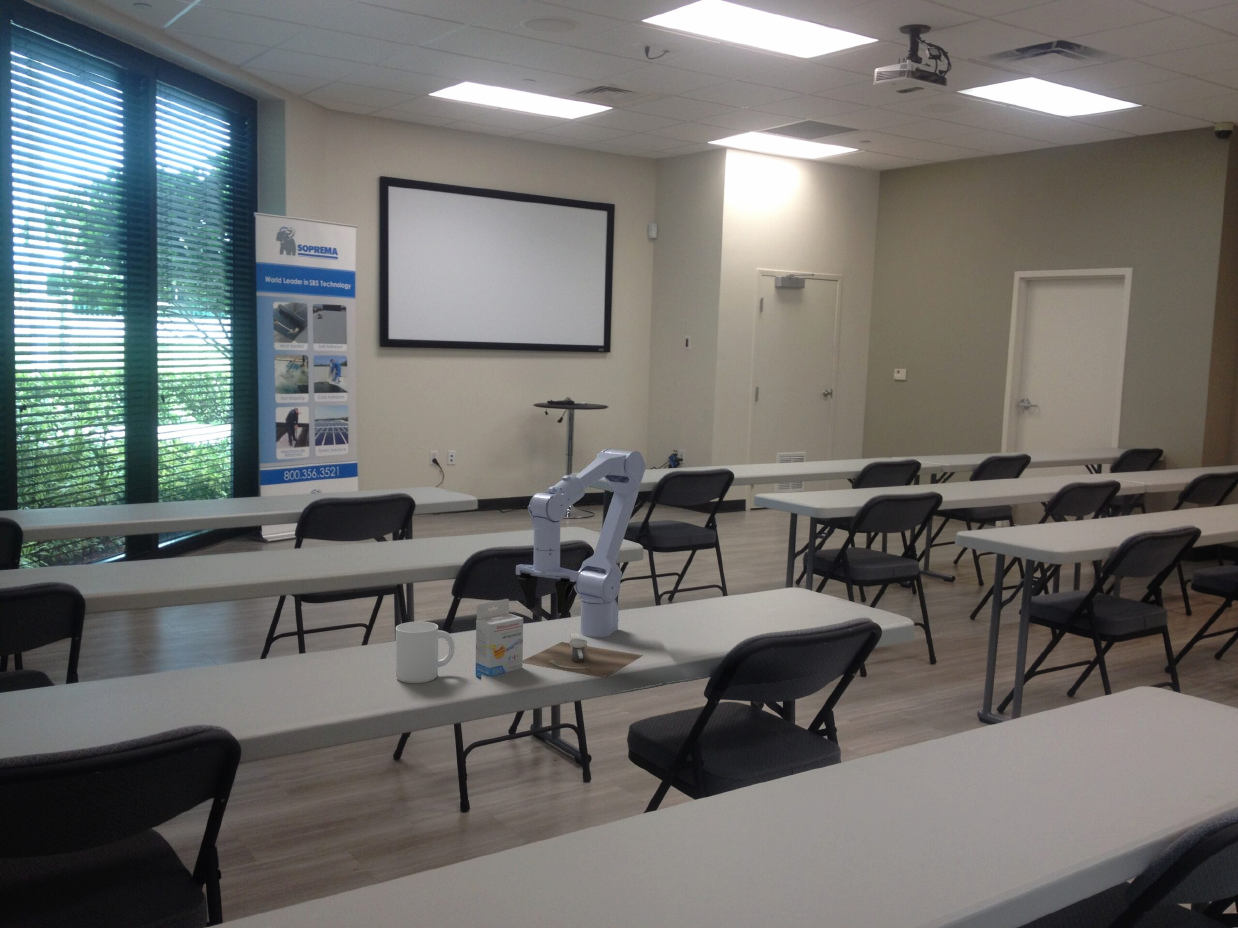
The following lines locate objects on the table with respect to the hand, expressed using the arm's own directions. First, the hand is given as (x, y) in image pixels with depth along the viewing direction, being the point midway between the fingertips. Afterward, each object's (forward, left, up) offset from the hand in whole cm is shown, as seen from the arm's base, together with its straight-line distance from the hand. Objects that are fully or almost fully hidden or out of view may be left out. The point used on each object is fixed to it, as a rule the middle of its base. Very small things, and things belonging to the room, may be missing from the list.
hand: (546, 610), depth 214 cm
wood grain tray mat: (+4, +11, -9) cm, 15 cm away
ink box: (+18, 0, -10) cm, 21 cm away
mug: (+26, -12, -10) cm, 30 cm away
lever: (+4, +10, -8) cm, 13 cm away
